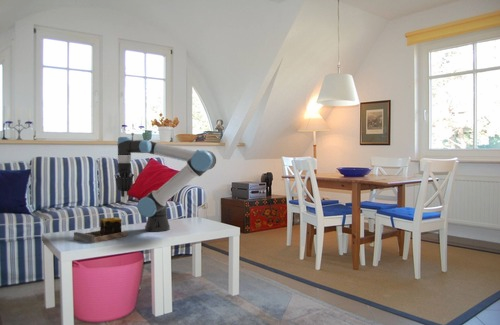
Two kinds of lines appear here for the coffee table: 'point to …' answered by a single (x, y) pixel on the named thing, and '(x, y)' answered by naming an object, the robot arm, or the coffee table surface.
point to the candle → (110, 226)
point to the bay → (91, 239)
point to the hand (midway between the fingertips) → (124, 201)
